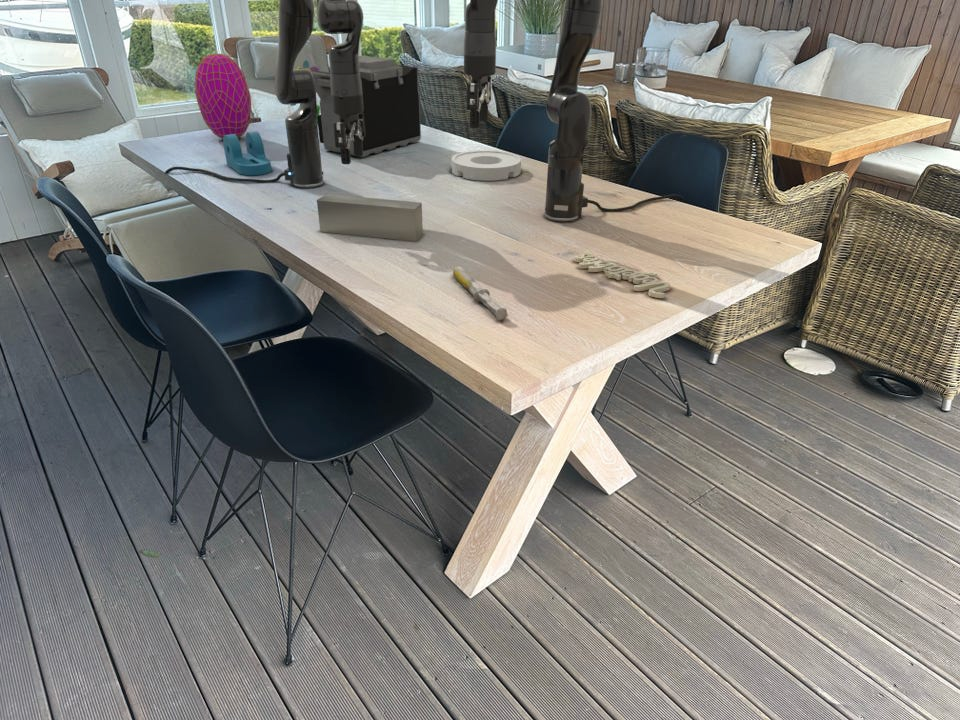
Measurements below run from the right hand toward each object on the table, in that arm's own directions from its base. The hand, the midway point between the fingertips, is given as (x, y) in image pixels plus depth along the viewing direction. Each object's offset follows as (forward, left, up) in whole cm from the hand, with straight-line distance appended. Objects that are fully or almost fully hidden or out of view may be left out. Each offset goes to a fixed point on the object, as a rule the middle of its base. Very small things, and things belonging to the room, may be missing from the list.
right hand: (479, 124), depth 169 cm
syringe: (+16, +40, -26) cm, 51 cm away
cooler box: (+5, -97, -26) cm, 101 cm away
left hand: (+29, -14, -10) cm, 34 cm away
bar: (+28, -6, -26) cm, 39 cm away
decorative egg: (+53, -126, -26) cm, 139 cm away
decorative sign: (-19, +41, -26) cm, 53 cm away
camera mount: (+50, -79, -26) cm, 97 cm away
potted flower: (+18, -145, -26) cm, 149 cm away
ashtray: (-23, -50, -26) cm, 61 cm away
